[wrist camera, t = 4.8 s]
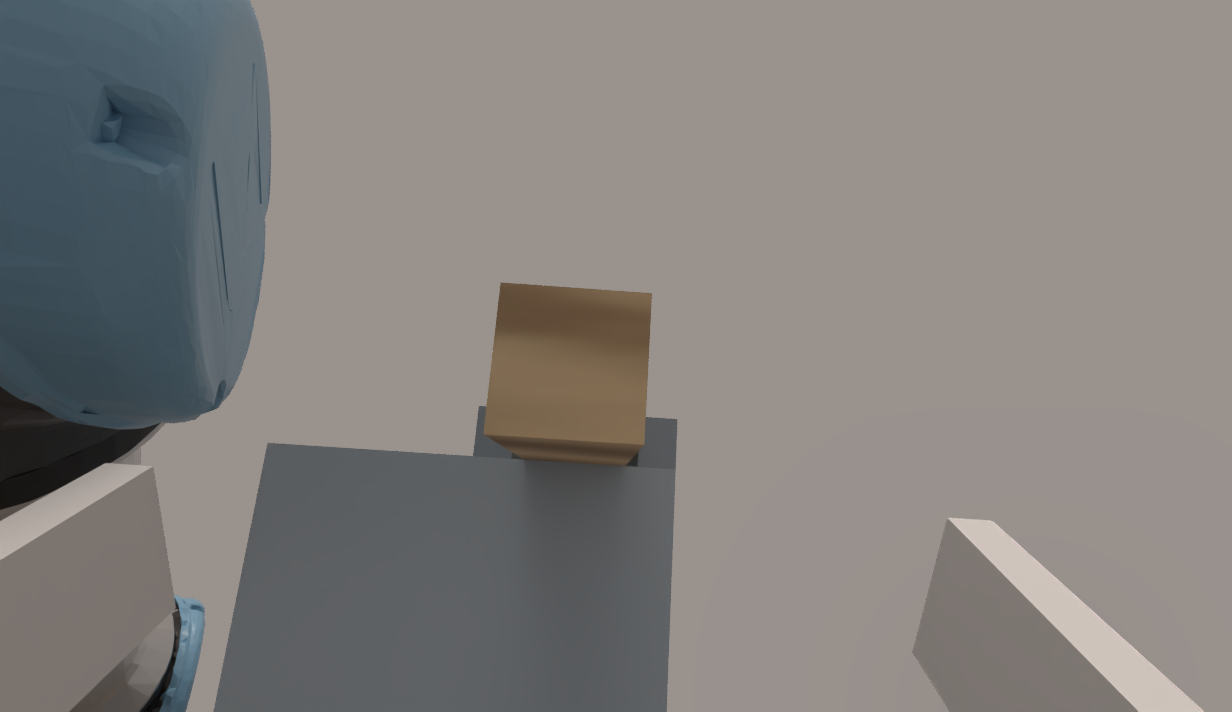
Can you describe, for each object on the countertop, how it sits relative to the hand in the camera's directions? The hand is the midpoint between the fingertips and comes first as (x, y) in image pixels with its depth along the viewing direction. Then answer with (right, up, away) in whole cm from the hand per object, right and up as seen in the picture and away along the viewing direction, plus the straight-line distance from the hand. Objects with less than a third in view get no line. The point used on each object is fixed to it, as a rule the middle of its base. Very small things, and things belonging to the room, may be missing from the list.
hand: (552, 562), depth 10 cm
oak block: (-1, -1, +16) cm, 16 cm away
